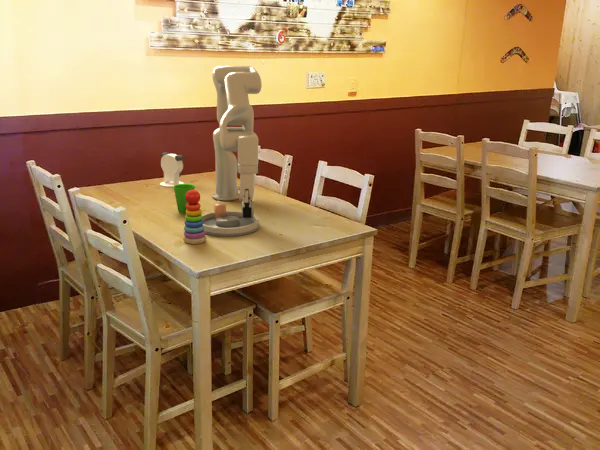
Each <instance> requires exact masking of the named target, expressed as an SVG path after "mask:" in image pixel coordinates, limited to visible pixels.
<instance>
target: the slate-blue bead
mask: <svg viewBox="0 0 600 450" xmlns="http://www.w3.org/2000/svg"><path fill="white" fill-rule="evenodd" d="M248 202H249V201H248ZM251 207H252V217H251V218H243V201H241V212H242V218H243V219H252V218H254V215H255V213H254V212H255V202H254V201H253V200H252V201H251Z"/></svg>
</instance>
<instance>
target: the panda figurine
mask: <svg viewBox="0 0 600 450" xmlns="http://www.w3.org/2000/svg"><path fill="white" fill-rule="evenodd" d="M160 157H161V159H160V167H161V169H162V171H163V181H162V182H160V183H159V185H160V186H161V187H165V188H173V186H174V185H177V184H185V182H183V181H180V178H181V176H182V174H181V172H182V171H183V169H184V162H183V160H184V156H183V155H182V154H178V155H177V154H176V153H169V152H168V151H167V152H162V153H160Z"/></svg>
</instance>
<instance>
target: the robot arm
mask: <svg viewBox="0 0 600 450" xmlns="http://www.w3.org/2000/svg"><path fill="white" fill-rule="evenodd" d="M211 76H212V81H213V84H214V87H215V91H216V119H217V122H218V124H219V126H218V128H216V129H215V130H213V133H212V140H213V147H214V155H215V157H214V158H215V162H214V163H215V192H214V193H213V194H212V196H211V197H212V199H213V200H217V201H226V202H227V201H228V202H229V201H236V200H242V202H243V218H251V217H252V207H251V201H253V199H254V194H255V177H256V176H255V174H258V173H259V137H258V135H257V133H256V132H254V126H255V125H254V122H255V121H254V120H255V119H254V118H255V116H254V115H255V113H254V109H253V106H252V105H251V104H250V100H249V95H257V94H260V92H261V91H262V78H261V76H260V74H259V72H258V71H257V70H256V69H255V68H254V67H253V66H250V65H245V66H244V65H217V66H215V67H214V68H213V70H212V74H211ZM238 126H239V127H238ZM234 152H235V153H236V152H237V157H236V154H234ZM238 174H240V175H239V185H238ZM248 201H249V202H248Z"/></svg>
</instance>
